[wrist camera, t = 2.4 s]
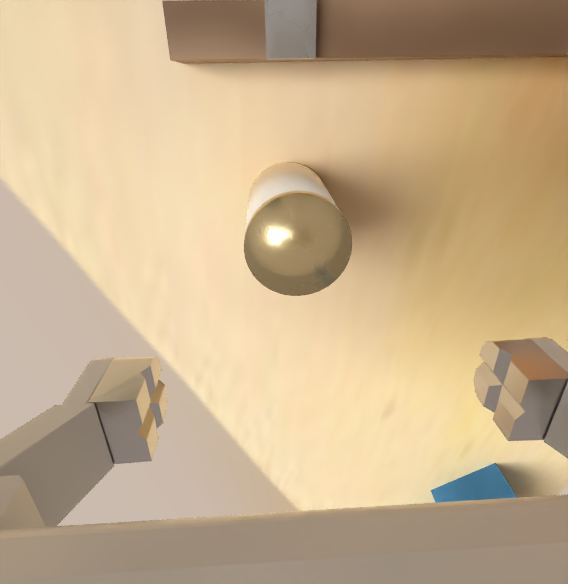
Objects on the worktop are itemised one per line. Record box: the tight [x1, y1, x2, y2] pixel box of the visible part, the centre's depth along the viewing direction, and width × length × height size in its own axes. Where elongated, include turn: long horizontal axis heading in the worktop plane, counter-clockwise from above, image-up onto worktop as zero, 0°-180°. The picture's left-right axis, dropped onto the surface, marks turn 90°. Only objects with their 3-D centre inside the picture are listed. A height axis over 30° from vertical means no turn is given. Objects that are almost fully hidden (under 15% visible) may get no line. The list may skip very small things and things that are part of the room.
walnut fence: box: [163, 0, 568, 63], centre depth 17 cm, size 2×26×4 cm, turn 91°
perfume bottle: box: [431, 463, 517, 503], centre depth 31 cm, size 6×6×12 cm
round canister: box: [244, 162, 352, 296], centre depth 19 cm, size 4×4×7 cm
